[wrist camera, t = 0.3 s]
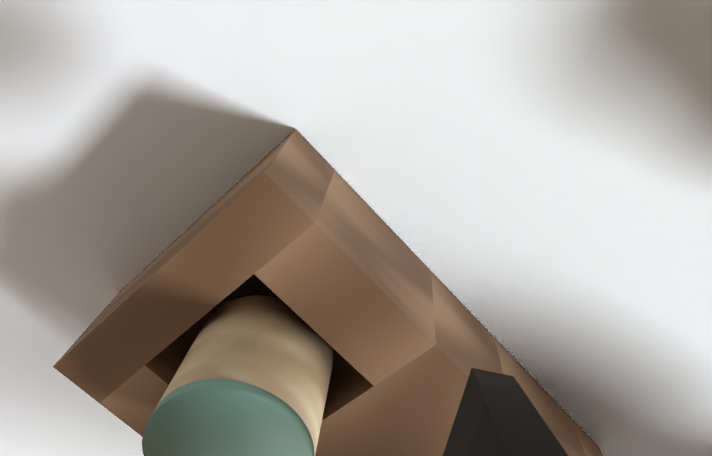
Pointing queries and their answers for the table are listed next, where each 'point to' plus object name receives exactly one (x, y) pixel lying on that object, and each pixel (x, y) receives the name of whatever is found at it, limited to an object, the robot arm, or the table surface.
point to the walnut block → (309, 314)
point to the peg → (245, 386)
